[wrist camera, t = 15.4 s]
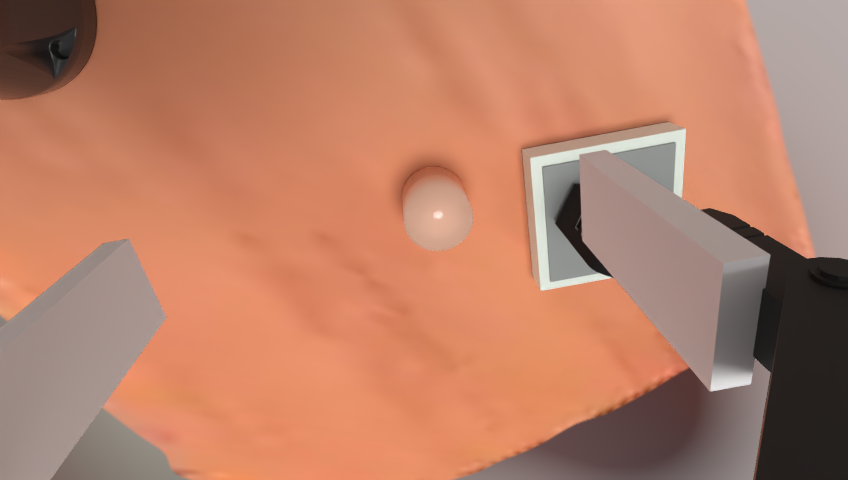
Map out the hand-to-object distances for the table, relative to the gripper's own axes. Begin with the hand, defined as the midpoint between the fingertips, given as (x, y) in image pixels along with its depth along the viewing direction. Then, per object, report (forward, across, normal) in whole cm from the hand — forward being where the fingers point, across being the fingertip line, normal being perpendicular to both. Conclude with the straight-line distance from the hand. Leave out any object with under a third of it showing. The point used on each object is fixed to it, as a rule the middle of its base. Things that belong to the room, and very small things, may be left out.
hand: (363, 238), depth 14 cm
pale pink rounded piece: (+32, +3, -11) cm, 34 cm away
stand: (+32, +19, -15) cm, 40 cm away
